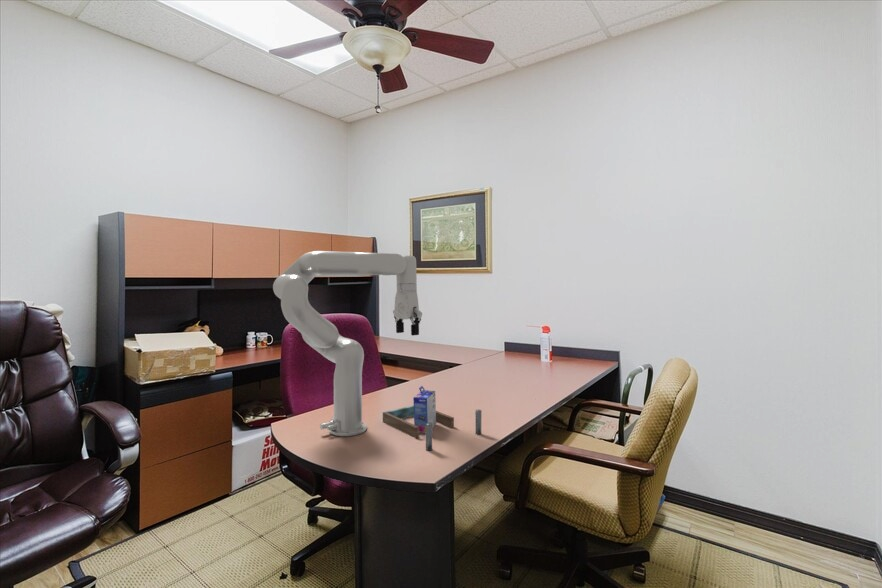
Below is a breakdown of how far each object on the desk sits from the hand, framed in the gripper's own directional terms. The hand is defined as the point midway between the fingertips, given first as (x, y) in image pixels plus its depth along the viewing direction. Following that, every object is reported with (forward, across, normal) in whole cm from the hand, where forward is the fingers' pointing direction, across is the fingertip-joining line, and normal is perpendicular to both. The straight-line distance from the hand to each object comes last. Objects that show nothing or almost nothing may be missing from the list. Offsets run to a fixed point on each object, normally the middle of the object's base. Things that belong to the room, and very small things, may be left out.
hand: (407, 333), depth 158 cm
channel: (+32, +9, -3) cm, 33 cm away
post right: (+32, +30, +8) cm, 44 cm away
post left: (+32, +29, -14) cm, 45 cm away
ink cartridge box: (+32, +14, -3) cm, 35 cm away
